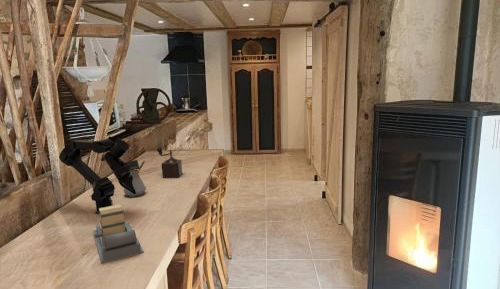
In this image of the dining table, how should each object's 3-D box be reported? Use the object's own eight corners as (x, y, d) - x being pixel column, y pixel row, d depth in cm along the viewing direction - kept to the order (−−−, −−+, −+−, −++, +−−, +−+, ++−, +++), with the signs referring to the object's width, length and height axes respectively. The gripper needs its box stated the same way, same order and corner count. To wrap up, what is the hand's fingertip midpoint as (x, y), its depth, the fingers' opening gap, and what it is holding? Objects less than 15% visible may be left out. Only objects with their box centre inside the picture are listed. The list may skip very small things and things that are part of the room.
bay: (90, 232, 143) (88, 210, 142) (128, 224, 150) (126, 202, 149) (98, 264, 118) (95, 237, 117) (143, 252, 125) (141, 227, 123)
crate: (101, 231, 142) (98, 208, 140) (122, 227, 146) (120, 204, 144) (103, 238, 136) (100, 214, 134) (125, 233, 140) (123, 209, 138)
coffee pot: (140, 198, 183) (138, 170, 180) (119, 198, 184) (116, 170, 181) (156, 185, 204) (154, 160, 201) (137, 185, 205) (135, 160, 202)
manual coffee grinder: (183, 173, 228) (181, 145, 225) (178, 178, 217) (176, 149, 214) (159, 173, 229) (157, 146, 226) (154, 178, 218) (151, 150, 215)
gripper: (129, 147, 152) (149, 176, 150) (133, 159, 169) (151, 186, 167) (105, 161, 148) (125, 191, 146) (111, 172, 165) (130, 199, 163)
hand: (134, 191), depth 156 cm, fingers open, 9 cm apart
